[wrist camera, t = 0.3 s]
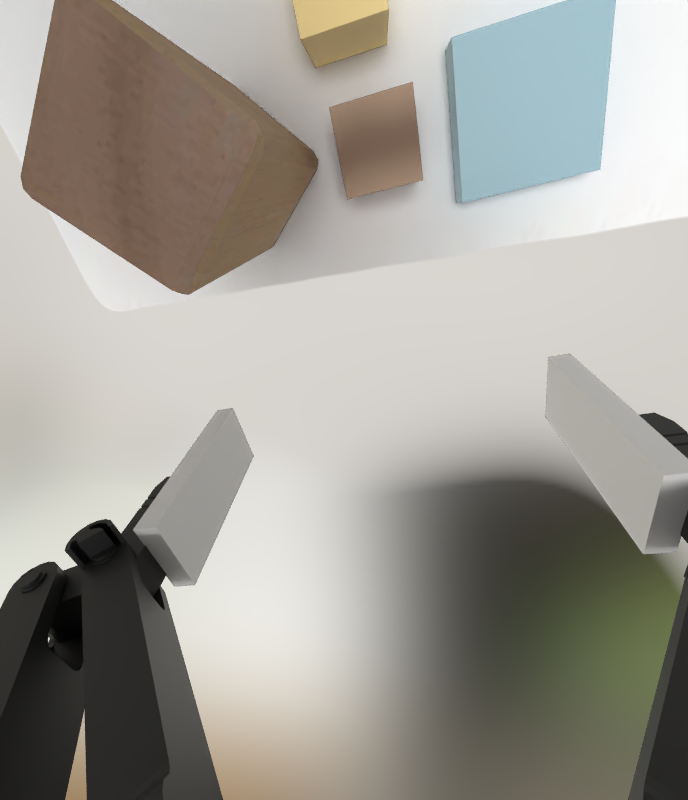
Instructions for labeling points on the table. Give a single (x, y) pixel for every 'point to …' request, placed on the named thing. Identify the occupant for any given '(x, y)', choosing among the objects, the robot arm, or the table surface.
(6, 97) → the table surface
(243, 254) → the wooden block
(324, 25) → the brick
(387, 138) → the brick
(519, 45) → the base brick
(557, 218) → the table surface
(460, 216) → the table surface
